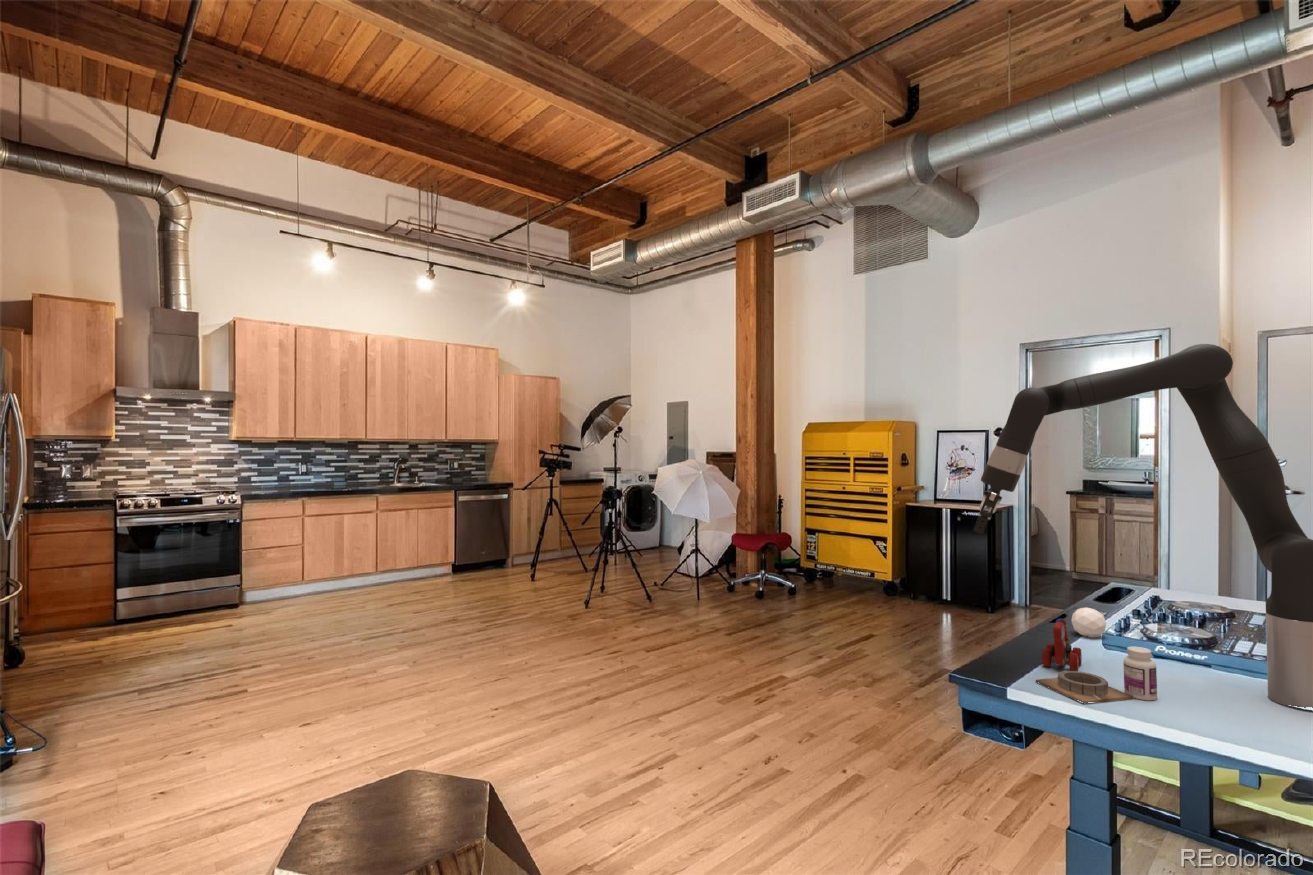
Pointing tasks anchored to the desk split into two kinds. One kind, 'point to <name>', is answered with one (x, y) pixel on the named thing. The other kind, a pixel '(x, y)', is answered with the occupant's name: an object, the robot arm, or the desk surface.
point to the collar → (1084, 687)
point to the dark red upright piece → (1061, 649)
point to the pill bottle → (1140, 674)
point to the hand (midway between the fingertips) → (978, 530)
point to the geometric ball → (1088, 622)
